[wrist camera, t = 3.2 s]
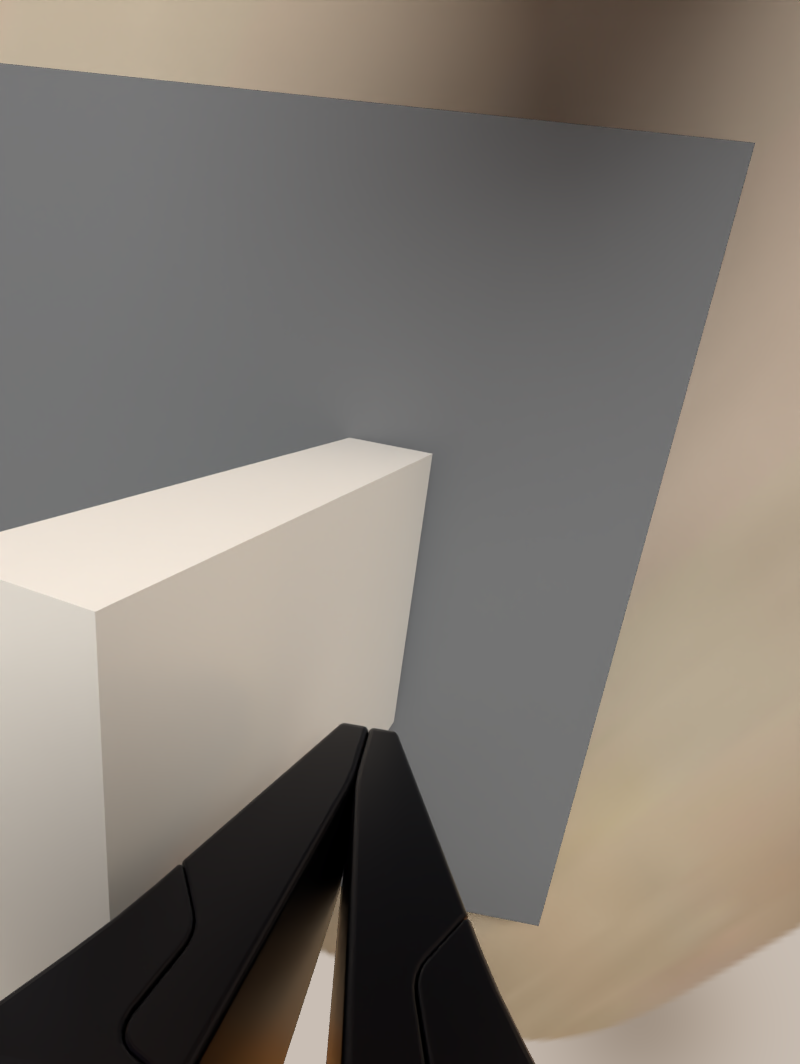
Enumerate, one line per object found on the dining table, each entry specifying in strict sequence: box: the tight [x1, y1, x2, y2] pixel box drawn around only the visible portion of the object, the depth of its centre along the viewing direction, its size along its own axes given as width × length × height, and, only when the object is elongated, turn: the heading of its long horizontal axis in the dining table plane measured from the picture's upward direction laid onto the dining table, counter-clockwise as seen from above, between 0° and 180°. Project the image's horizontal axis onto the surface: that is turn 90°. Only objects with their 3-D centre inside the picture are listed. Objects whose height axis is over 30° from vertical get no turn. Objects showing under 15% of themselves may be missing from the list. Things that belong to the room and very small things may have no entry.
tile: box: [0, 438, 432, 1001], centre depth 10 cm, size 2×7×9 cm, turn 172°
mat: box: [0, 63, 755, 926], centre depth 15 cm, size 20×20×1 cm
